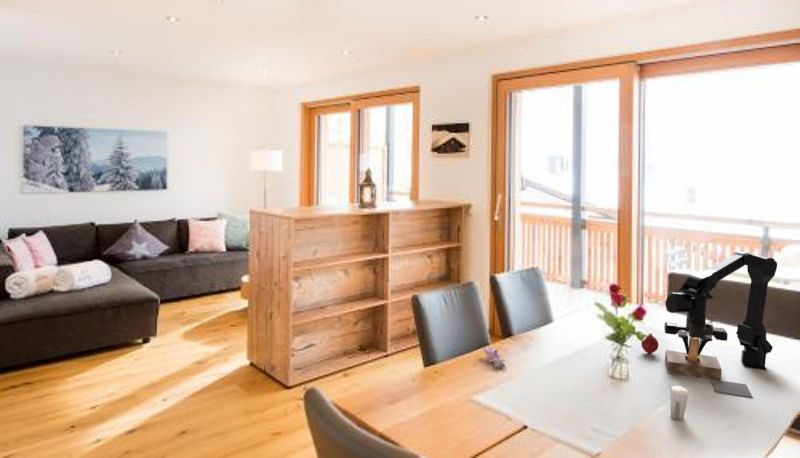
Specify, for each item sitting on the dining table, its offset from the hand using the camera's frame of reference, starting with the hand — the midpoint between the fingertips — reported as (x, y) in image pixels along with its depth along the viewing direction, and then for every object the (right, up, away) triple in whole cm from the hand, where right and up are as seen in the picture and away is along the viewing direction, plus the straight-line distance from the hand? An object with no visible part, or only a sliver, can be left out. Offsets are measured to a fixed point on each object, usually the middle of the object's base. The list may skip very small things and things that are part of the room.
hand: (692, 354), depth 185 cm
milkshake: (-23, -10, -34) cm, 42 cm away
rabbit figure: (-68, -5, +6) cm, 68 cm away
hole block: (0, -6, +1) cm, 6 cm away
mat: (+4, -8, -14) cm, 17 cm away
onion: (-8, -4, +16) cm, 18 cm away
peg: (0, -4, +1) cm, 4 cm away
